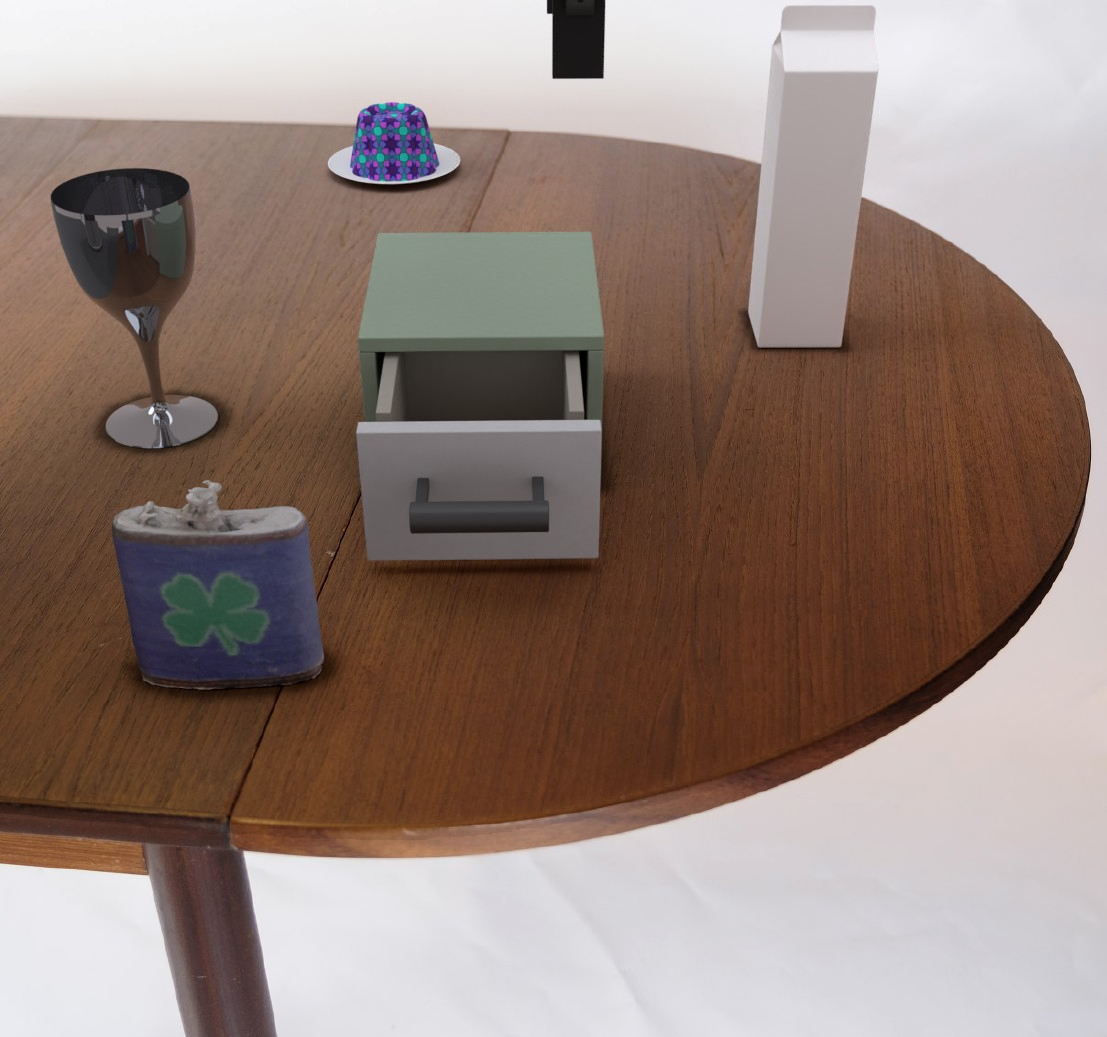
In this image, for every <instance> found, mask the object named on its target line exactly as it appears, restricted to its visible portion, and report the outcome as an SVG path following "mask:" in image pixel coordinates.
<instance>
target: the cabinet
mask: <svg viewBox="0 0 1107 1037" xmlns="http://www.w3.org/2000/svg"><path fill="white" fill-rule="evenodd" d="M376 236H377V237H376V243H375V247H374V252H373V257H372V263H371V269H370V274H369V279H368V284H367V289H366V294H365V300H364V304H363V308H362V315H361V321H360V324H359V331H358V336H357V345H358V347H357V348H358V357H359V369H360V370H359V371H360V382H361V394H362V405H363V406H362V407H363V414H364V415H363V417H364V422H376V408H377V402H378V395H379V389H380V382H381V376H382V369H383V363H384V357H385V352H429V351H553V350H579V360H580V371H581V382H582V393H583V405H584V420H600V421H601V428H602V429H603V409H604V408H603V406H604V374H605V373H604V372H605V371H604V369H605V330H604V329H605V328H604V321H603V314H602V305H601V298H600V292H599V281H598V273H597V265H596V258H595V249H594V241H593V233H592V231H490V232H489V231H486V232H485V231H481V232H479V231H478V232H477V231H476V232H473V231H472V232H468V231H467V232H464V231H463V232H461V231H460V232H379V233H377V235H376ZM602 445H603V444H602V443H601V450H602V447H603V446H602ZM601 481H602V480H601ZM601 481H600V487H601Z"/></svg>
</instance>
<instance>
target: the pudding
mask: <svg viewBox="0 0 1107 1037" xmlns="http://www.w3.org/2000/svg"><path fill="white" fill-rule="evenodd" d="M460 163H461V157H460V155H459V154H458V153H457V152H456V151H454V149H451V148H449V147H447V146H445V145H441V144H438V143H435V142H434V140H433V137H432V133H431V130H430V126H429V123H428V118H427V116H426V113H425V112H424V110H422V108H419V107H417V106H416V105H414V104H412V103H406V102H405V103H403V102H401V103H400V102H396V101H395V102H394V101H391V102H389V101H388V102H385V103H373V104H371V105H369V106H367V107H364V108H362V109H361V110H360V111H359V113H358V115H357V118H356V125H355V131H354V137H353V143H352V145H351V146H348V147H345V148H343V149H341V150H338V151H337V152H335V153H333V154H332V155H331V156H330V157H329V159H328V161H327V167H328V168H329V170H330V171H331V172H333V173H334V174H336V175H337V176H339V177H342V178H344V179H348V180H351V181H354V182H359V183H365V184H373V185H374V184H375V185H405V184H406V185H407V184H415V183H420V182H426V181H429V180H433V179H436V178H440V177H442V176H445V175H447V174H449V173H451V172H453V171H454V170H455V169H457V168H458V166H459V165H460Z"/></svg>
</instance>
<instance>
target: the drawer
mask: <svg viewBox="0 0 1107 1037" xmlns="http://www.w3.org/2000/svg"><path fill="white" fill-rule="evenodd" d="M355 434H356V435H355V436H356V448H357V459H358V460H357V461H358V470H359V480H360V481H359V482H360V492H361V502H362V513H363V514H362V515H363V524H364V536H365V547H366V548H365V549H366V557H367V558H366V559H367V561H368V562H379V561H380V562H384V561H386V562H387V561H388V562H391V561H393V562H394V561H396V562H397V561H458V560H459V561H480V560H482V561H483V560H486V561H487V560H488V561H489V560H563V559H565V560H567V559H568V560H569V559H571V560H572V559H575V560H577V559H578V560H579V559H599V555H600V554H599V552H600V550H599V548H600V519H601V518H600V517H601V516H600V512H601V511H600V510H601V486H600V481H602V480H601V479H602V449H601V443H602V442H603V427H602V428H601V421H600V420H584V405H583V393H582V382H581V371H580V360H579V350H553V351H429V352H385V357H384V363H383V369H382V376H381V382H380V389H379V395H378V402H377V408H376V422H365V421H359V422H357V425H356V431H355Z"/></svg>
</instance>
